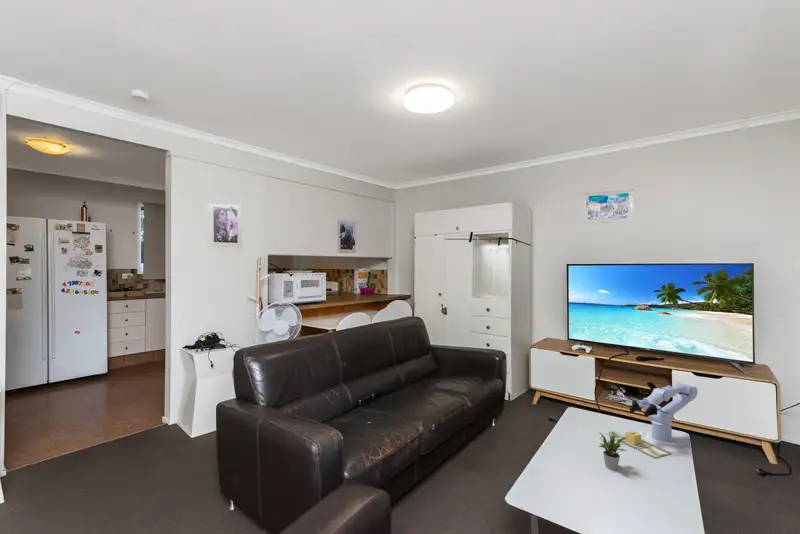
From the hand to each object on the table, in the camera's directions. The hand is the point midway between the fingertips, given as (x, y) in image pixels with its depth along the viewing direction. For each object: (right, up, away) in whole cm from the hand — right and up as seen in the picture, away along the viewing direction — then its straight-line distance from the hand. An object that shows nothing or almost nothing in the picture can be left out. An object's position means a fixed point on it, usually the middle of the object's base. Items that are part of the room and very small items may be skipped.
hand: (637, 412), depth 205 cm
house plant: (-24, -19, -20) cm, 36 cm away
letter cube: (+1, -18, +5) cm, 19 cm away
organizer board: (+1, -19, +4) cm, 19 cm away
